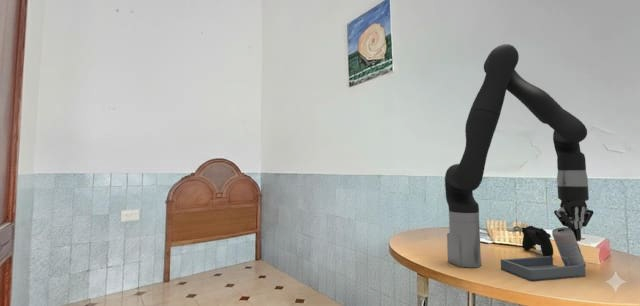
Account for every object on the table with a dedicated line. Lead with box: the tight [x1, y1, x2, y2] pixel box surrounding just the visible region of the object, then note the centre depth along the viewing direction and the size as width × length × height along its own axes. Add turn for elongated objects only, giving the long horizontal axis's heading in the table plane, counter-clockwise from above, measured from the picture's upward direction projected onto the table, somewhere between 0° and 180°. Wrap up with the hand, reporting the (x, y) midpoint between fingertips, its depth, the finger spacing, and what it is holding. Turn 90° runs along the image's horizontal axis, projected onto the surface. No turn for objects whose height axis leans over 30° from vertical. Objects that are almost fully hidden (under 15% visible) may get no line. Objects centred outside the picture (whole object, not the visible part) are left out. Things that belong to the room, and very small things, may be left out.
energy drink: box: [551, 226, 587, 268], centre depth 95 cm, size 5×5×12 cm
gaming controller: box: [521, 225, 554, 257], centre depth 114 cm, size 14×6×10 cm, turn 179°
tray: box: [500, 255, 587, 282], centre depth 93 cm, size 18×11×3 cm, turn 102°
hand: (575, 240), depth 96 cm, fingers closed
